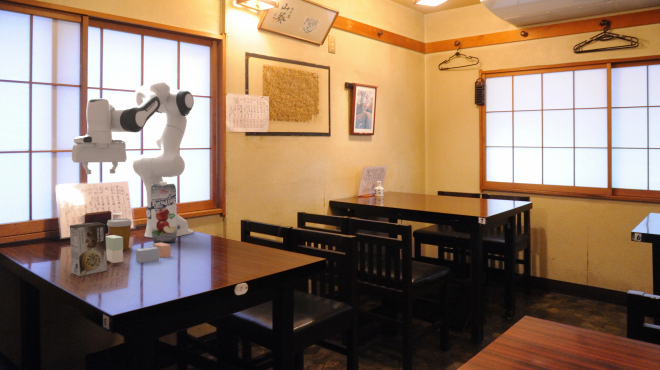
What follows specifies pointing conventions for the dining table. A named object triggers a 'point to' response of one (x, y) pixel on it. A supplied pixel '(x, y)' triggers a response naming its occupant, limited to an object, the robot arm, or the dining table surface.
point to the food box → (88, 248)
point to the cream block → (114, 255)
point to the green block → (114, 242)
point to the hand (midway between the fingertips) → (100, 173)
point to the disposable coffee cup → (120, 230)
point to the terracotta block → (163, 249)
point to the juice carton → (163, 212)
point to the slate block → (147, 254)
